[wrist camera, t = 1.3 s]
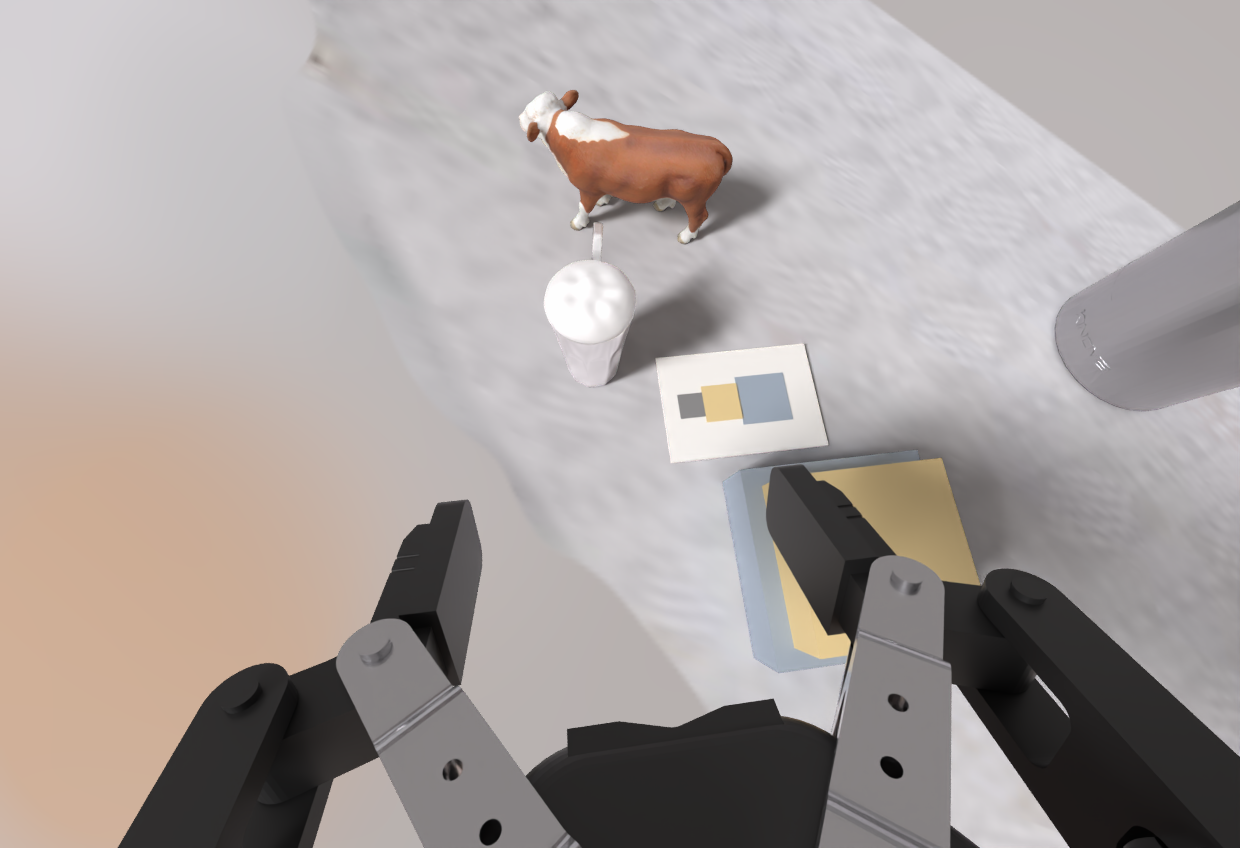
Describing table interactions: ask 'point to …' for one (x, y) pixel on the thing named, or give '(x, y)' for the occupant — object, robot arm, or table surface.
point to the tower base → (764, 565)
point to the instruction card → (739, 403)
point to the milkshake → (591, 314)
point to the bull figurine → (628, 160)
